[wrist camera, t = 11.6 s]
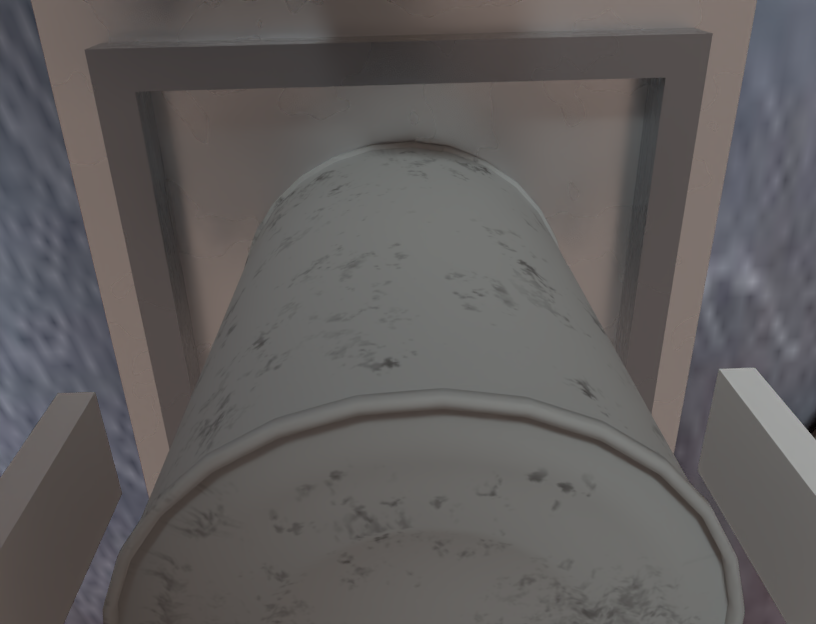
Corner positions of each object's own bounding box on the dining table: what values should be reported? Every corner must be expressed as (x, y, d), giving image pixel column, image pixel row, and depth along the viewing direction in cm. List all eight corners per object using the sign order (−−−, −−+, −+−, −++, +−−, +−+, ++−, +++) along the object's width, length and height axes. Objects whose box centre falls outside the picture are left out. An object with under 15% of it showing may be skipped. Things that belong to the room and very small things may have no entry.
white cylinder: (420, 475, 25) (449, 893, 14) (180, 318, 22) (-18, 697, 11) (629, 280, 22) (875, 625, 11) (383, 65, 19) (384, 248, 8)
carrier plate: (-16, -322, 16) (-235, -463, 10) (787, -335, 17) (1003, -478, 11) (168, 506, 27) (111, 660, 22) (648, 488, 28) (719, 635, 22)
